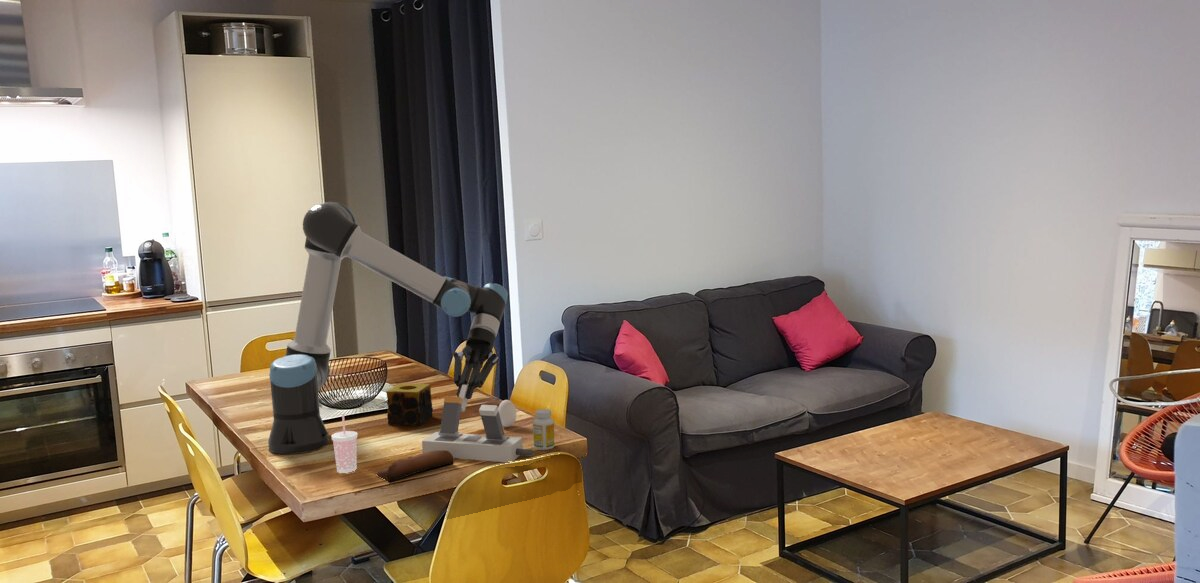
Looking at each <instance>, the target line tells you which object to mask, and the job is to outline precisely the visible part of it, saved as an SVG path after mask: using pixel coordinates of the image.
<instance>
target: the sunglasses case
mask: <svg viewBox="0 0 1200 583" xmlns="http://www.w3.org/2000/svg"><path fill="white" fill-rule="evenodd" d="M454 461H455V460H454V458H453V456H452V454H451V453H450V452H449V451H446V450H437V451H430V452H425V453H423V452H422V453H419V454H417V455H413V456H407V458H402V459H398V460H396V461H395V462H393V463H392V464H390V465H388V466H386V467H384V468H381V469H380V470H378V471H377V472H375V473H374V474H377V475H378V476H379V477H381V478H383V479H385V480H386V481H388V482H389V483H390V482H395V481H397V480H399V479H402V478H405V477H407V476H410V475H412V474H415V473H419V472H424V471H426V470H429V469H433V468H434V469H435V468H438V467H441V466H444V465H449V464H450V463H451V464H450V465H453V464H454ZM379 477H378V478H379ZM381 478H380V479H381ZM383 479H382V480H383ZM386 481H385V482H386ZM388 482H387V483H388Z"/></svg>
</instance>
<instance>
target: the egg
mask: <svg viewBox="0 0 1200 583" xmlns="http://www.w3.org/2000/svg"><path fill="white" fill-rule="evenodd" d="M498 410H499V415H500V419H501V423H502V426H503V428H509V427H511V426H513V425H514V423H515V422H516V419H517V408H516V406H515V405H514V404H513V402H512V401H511V400H509V399H504V400H502V401H501V402H500V403H499V406H498Z"/></svg>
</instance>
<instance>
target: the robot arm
mask: <svg viewBox="0 0 1200 583" xmlns="http://www.w3.org/2000/svg"><path fill="white" fill-rule="evenodd" d="M302 230H303V231H302V232H303V234H304V236H305V241H304V242H305V243H304V249H305V251H306V252H307V253H308V260H307V265H306V270H305V276H304V277H305V278H304V283H303V287H302V293H301V299H300V304H299V311H298V316H297V323H296V328H295V333H294V339H293V340H291V341H289V342H288V343H287V345H286V351H285V356H282V357H279V358H277V359H275V360H273V362H271V364H270V367H269V375H268V376H269V380H270V390H271V401H272V415H273V420H272V421H273V422H272V426H271V429H270V431H269V432H270V434H269V438H268V442H267V443H268V450H269V451H270V452H271V453H274V454H278V455H295V454H304V453H309V452H312V451H313V452H314V451H316V450H319V449H322V448H324V447H326V446H327V445H328V444H329V434H328V430H327V428H326V426H325V423H324V422H323V419H322V417H321V413H320V399H319V390H320V389H321V388H322V387H323V386H324V385H325V384H326V383H327V381H328V379H329V375H330V358H331V356H330V355H331V352H332V350H331V347H329V346H328V343H327V342H328V336H329V330H330V325H331V319H332V315H333V308H334V303H335V298H336V297H335V296H336V292H337V286H338V281H339V275H340V269H341V264H342V260H343V259H345V258H348V259H350V260H352V261H354V262H356V263H357V264H360V265H361V266H363V267H364V268H367V269H369V270H371V271H372V272H374V273H375V274H377V275H380V276H381V277H384V278H386V279H387V280H389V281H391V282H393V283H395V284H396V285H398V286H400V287H402V288H404V289H405V290H407V291H409V292H412V294H415V295H416V296H419V297H420V298H422V299H424V300H426V301H427V302H430V303H431V304H433V305H434V306H436V307H438V308H439V309H441V310H442V312H444V313H445V314H446V315H448V316H450V317H452V318H453V317H454V318H455V317H456V318H457V317H461V316H463V315H465V314H467V312H468V313H471V314H473V315H474V316H473V319H472V322H471V325H470V328H469V331H468V335H467V339H466V341H465V342H466V343H465V346H464V347H463V348H462V350H461V351H459V352H457V351H455V352H453V354H452V355H453V358H454V365H453V366H454V368H453V383H454V384H455V385H456V387H458V388H457V391H456V395H455V396H456V397H461V398H463V400H462V406H461V412H465V411H466V407H467V404H468V400H471V399H472V397H473V393H474V392H475V391H474V390H475V389H477V388H478V389H481V388H482V387H483V386H484V384H485V382H486V380H487V378H488V377H489V374H490V373H491V371H492V370H493V368H494V366H495V365H496V364H497V363H498V362H499V360H500V359H499V357H498V355H497V354H496V353H494V352H493V350H494V346H495V343H496V338H497V335H498V331H499V329H500V325H501V322H502V319H503V315H504V312H505V309H506V306H507V302H508V301H507V300H508V296H509V294H508V290H507V289H506V288H505V287H504V286H502V285H501V284H498V283H492V282H488V283H487V284H484V286H483V287H480V286H475V285H472V284H471V283H467V282H464V281H461V280H458V279H456V278H452V277H450V276H445V275H444V276H442V275H440V274H438V273H437V272H434V271H433V270H431V269H429V268H427V267H426V266H424V265H422V264H421V263H419V262H417V261H415V260H413V259H411V258H409V257H408V256H406V255H404V254H402V253H401V252H399V251H397V250H395V249H393V248H391V247H390V246H388V245H387V244H385V243H383V242H380V241H379V240H377V239H375V238H374V237H371V236H370V235H368V234H366V233H365V232H363V231H362V229H361V226H360V225H358V224H356V219H355V216H354V213H353V212H352V211H351V210H350V209H349V208H348V207H347V206H346V205H344V204H342V203H340V202H336V201H326V202H323V203H319V204H316V205H314V206H312V207H311V208H309V210H308V211H307V212H306V213H305V215H304V217H303V220H302ZM464 358H465V360H464ZM463 360H464V366H463V362H462V361H463ZM462 368H463V369H462Z"/></svg>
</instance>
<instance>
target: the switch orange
mask: <svg viewBox="0 0 1200 583" xmlns="http://www.w3.org/2000/svg"><path fill="white" fill-rule="evenodd" d="M462 400H463V398H461V397H457V396H452V395H451V396H450V395H444V398H443V408H442V416H441V422H440V423H441V424H440V430H438V431H437V432H438V435H439V436H454V437H458V436H459V433H460V431H459V426H460V419H461V418H460V417H461V412H462V411H461V406H462Z"/></svg>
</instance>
